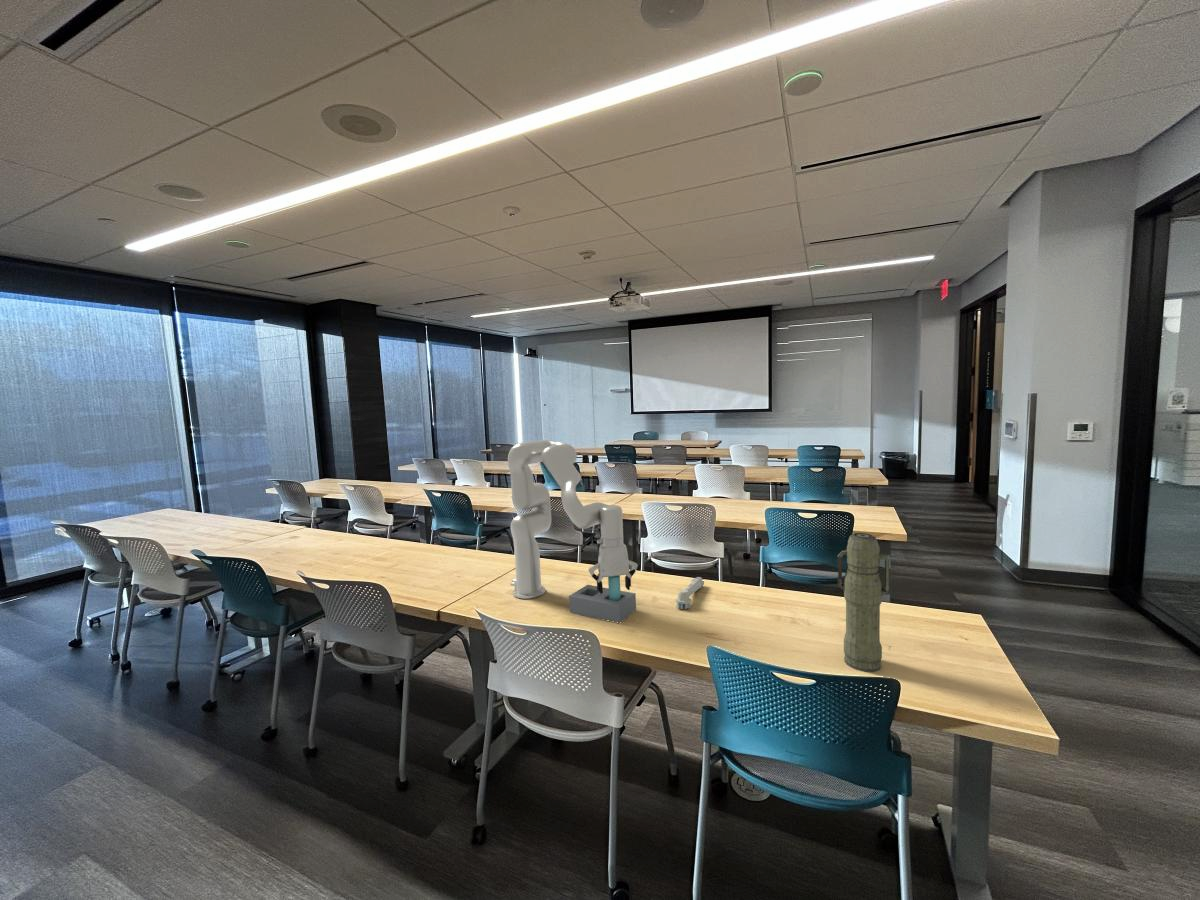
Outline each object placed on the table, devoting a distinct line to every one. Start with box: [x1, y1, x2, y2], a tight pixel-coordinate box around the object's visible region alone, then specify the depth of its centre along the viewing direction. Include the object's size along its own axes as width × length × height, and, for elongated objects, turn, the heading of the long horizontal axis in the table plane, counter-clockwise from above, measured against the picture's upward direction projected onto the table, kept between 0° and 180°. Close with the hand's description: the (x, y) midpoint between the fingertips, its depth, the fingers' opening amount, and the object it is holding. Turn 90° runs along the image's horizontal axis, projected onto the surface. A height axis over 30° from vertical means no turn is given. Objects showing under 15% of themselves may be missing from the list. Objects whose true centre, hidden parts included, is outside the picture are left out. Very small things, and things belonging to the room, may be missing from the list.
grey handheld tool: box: [675, 576, 705, 610], centre depth 178 cm, size 5×7×25 cm
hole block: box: [568, 584, 637, 624], centre depth 169 cm, size 20×12×6 cm, turn 59°
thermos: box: [837, 532, 890, 673], centre depth 128 cm, size 9×12×35 cm
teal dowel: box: [607, 575, 621, 601], centre depth 166 cm, size 4×4×12 cm
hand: (614, 590), depth 166 cm, fingers open, 9 cm apart
